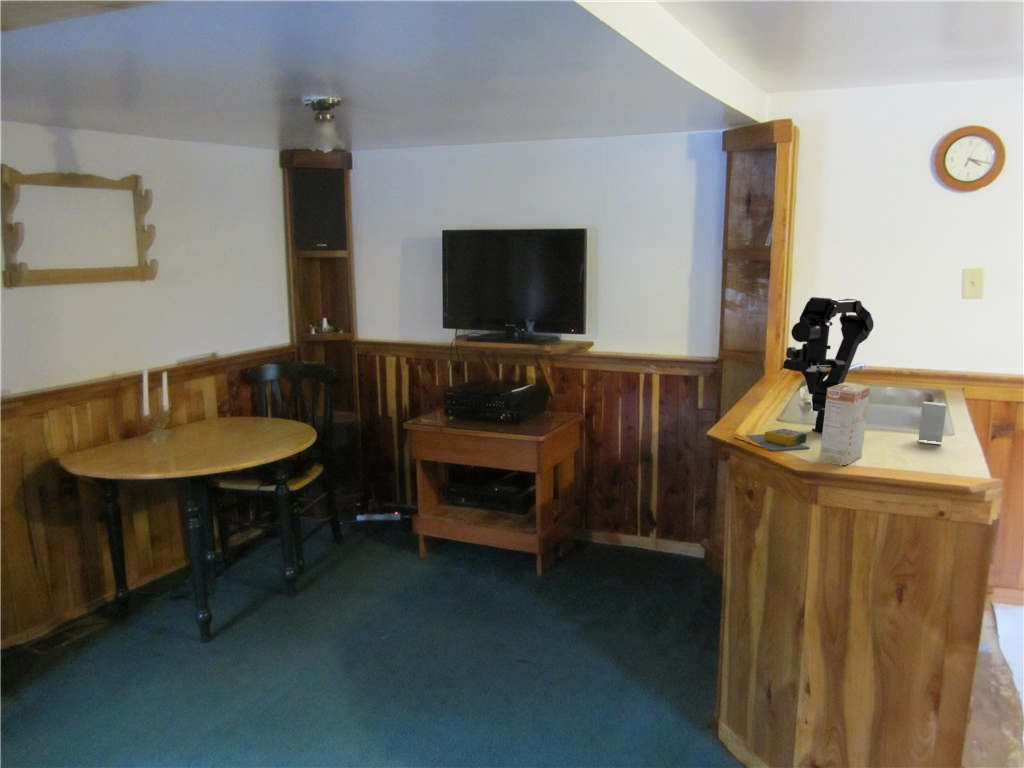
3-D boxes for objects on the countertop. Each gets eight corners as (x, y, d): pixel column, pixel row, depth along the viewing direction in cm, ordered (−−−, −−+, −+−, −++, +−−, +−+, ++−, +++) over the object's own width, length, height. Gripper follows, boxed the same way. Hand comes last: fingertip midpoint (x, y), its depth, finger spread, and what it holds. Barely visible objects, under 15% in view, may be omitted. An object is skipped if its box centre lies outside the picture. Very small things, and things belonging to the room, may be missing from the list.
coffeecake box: (835, 451, 211) (843, 381, 208) (862, 457, 207) (871, 385, 204) (817, 461, 200) (826, 387, 197) (846, 466, 195) (855, 391, 192)
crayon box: (807, 432, 217) (784, 437, 210) (806, 443, 218) (783, 448, 210) (784, 427, 223) (760, 432, 216) (783, 437, 223) (759, 442, 216)
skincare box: (940, 443, 229) (945, 403, 227) (941, 445, 226) (947, 405, 224) (917, 440, 232) (922, 401, 230) (918, 442, 228) (923, 403, 226)
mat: (769, 435, 227) (769, 434, 227) (809, 449, 213) (809, 447, 213) (733, 437, 222) (733, 436, 222) (772, 451, 208) (772, 449, 208)
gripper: (820, 338, 234) (815, 388, 237) (772, 337, 227) (767, 390, 229) (849, 342, 224) (843, 395, 227) (800, 342, 217) (794, 396, 219)
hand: (811, 394), depth 226 cm, fingers closed
